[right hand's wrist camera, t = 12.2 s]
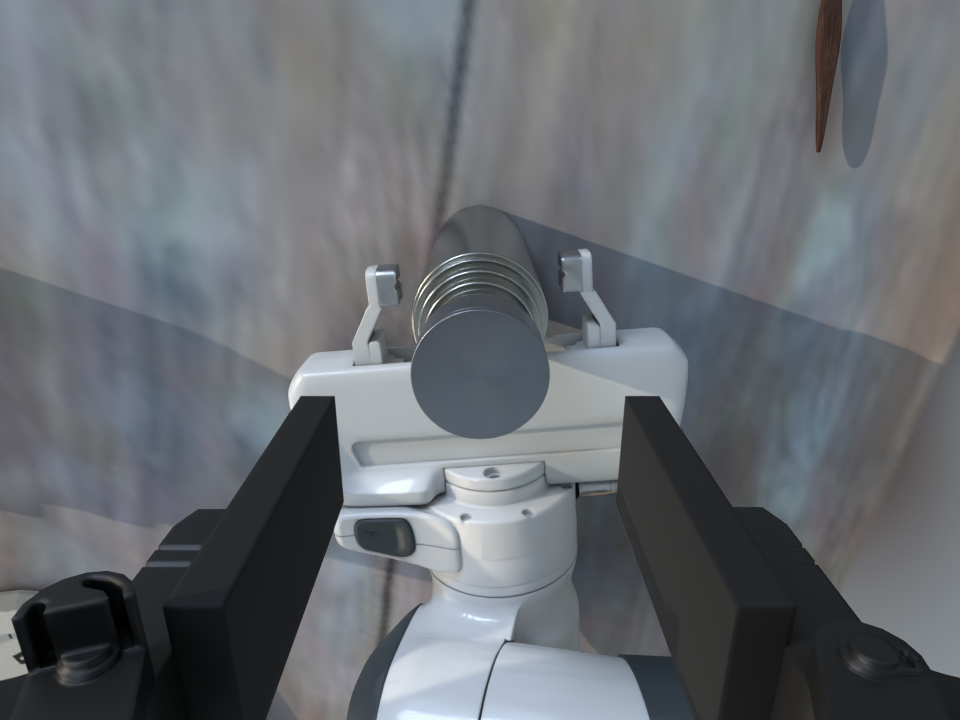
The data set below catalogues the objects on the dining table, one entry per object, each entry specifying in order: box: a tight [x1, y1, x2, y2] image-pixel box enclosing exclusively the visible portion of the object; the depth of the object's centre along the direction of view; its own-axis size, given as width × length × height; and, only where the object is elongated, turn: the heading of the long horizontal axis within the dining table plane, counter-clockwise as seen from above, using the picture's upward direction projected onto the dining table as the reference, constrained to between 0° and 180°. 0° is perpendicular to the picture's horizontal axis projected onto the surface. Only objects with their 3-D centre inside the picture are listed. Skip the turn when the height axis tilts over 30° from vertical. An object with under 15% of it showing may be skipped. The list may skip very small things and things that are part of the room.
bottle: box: [411, 206, 549, 344], centre depth 28 cm, size 5×5×19 cm
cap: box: [410, 294, 550, 439], centre depth 19 cm, size 4×4×2 cm
